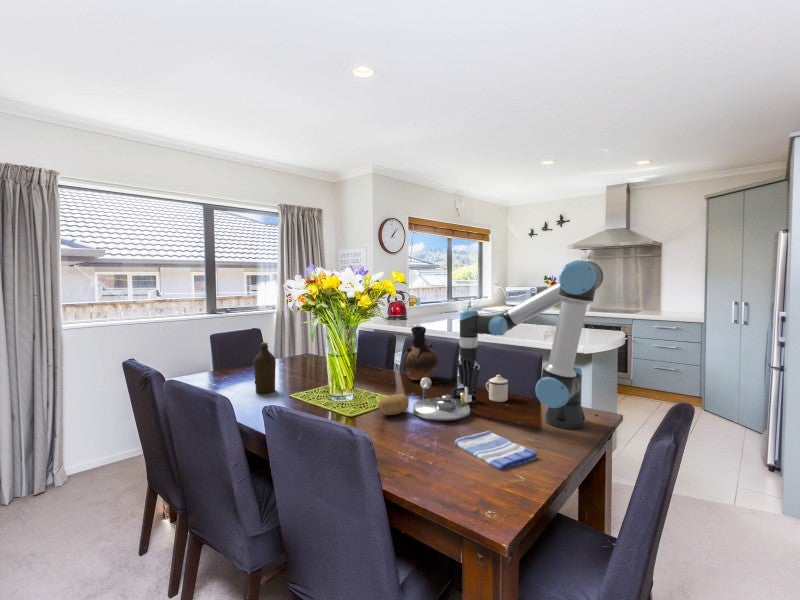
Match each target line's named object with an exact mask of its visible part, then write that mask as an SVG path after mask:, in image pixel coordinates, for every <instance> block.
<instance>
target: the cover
mask: <svg viewBox="0 0 800 600" xmlns="http://www.w3.org/2000/svg"><path fill="white" fill-rule="evenodd" d="M440 398H441V399H438V400H437V409H439V410H442V411H452V410H455V409H456V400H454V399H451V394H442V395H441V397H440Z"/></svg>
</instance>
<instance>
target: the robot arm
mask: <svg viewBox="0 0 800 600" xmlns="http://www.w3.org/2000/svg"><path fill="white" fill-rule="evenodd" d="M603 281H604V272H603V270H602V268H601V267H600V266H599V264H597V263H596V262H593V261H590V260H580V259H578V260H573V261H571V262H568V263H566V264H565V265H564V266H563V267H562V268H561V270H560V272H559V274H558V282H555V283H553V285H550V286H549V287H547V288H545V289H544V290H542V291H540V292H537V293H536V294H534V295H532V296H530V297H529V298H527V299H525V300H523V301H521V302H520V303H517V304H516V305H513V306H512V307H511V308H509V309H508V310H505V311H503V312H501V313H499V314H495V315H494V314H493V315H480V314H479V311H478V310H476V309H463V310H461V311H460V312H459V346H460V347H459V356H460V358H459V359H458V360H456V361H455V363H456V366H457V371H458V379H459V383H460V384H462V386H463V388H464V393H465V402H472V394H474V393H473V388H474V387H476V386H477V385H478V384H477V383H478V380H479V374H480V370H481V369H482V365H481V364H478V360H477V356H479V354H478V350H479V349H478V342H479V341H478V336H479V335H491V336H505V333H507V332H508V331H511V330H512V329H514V328H515V327H516V326H518V325H520V324H522V323H524V322H526V321H528V320H530V319H532V318H534V317H535V316H537V315H539V314H542V313H544V312H545V311H547V310H549V309H551V308H553V307H554V306H557V305H559V304H560V307H559V308H560V309H559V312H558V316H557V322H556V326H555V331H554V336H553V340H552V341H553V342H552V346H551V350H550V354H549V359H548V363H546V364H544V365H543V367H542V371H541V375H540V379H539V380H537V382H536V385H535V389H534V390H535V391H534V392H535V396H536V398H537V399H538V400H539V402H540V403H541V404H543V405H544V406H545V407H547V409H546V412H545V413H544V414H545V415H544V421H545V422H546V423H547V424H548V425H550V426H552V427H555V428H560V429H566V430H567V429H568V430H577V428H578V429H582V428H584V427H585V426H586V425H585V424H587V423H586V416H585V412H584V410H583V406H582V390H583V389H582V386H583V385H582V384H583V383H582V382H583V381H582V379H583V372H582V368H581V367H579V366H576V365H575V362H576V356H577V354H578V353H577V352H578V348H579V342H580V340H581V336H582V335H581V334H582V330H583V325H584V320H585V317H586V313H587V307H588V306H589V305H590V304H591V303H593V302H594V298H595V295H596V290H598V289H599V287H600V286H602V283H603ZM478 334H479V335H478ZM583 426H584V427H583ZM581 427H582V428H581Z"/></svg>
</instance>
